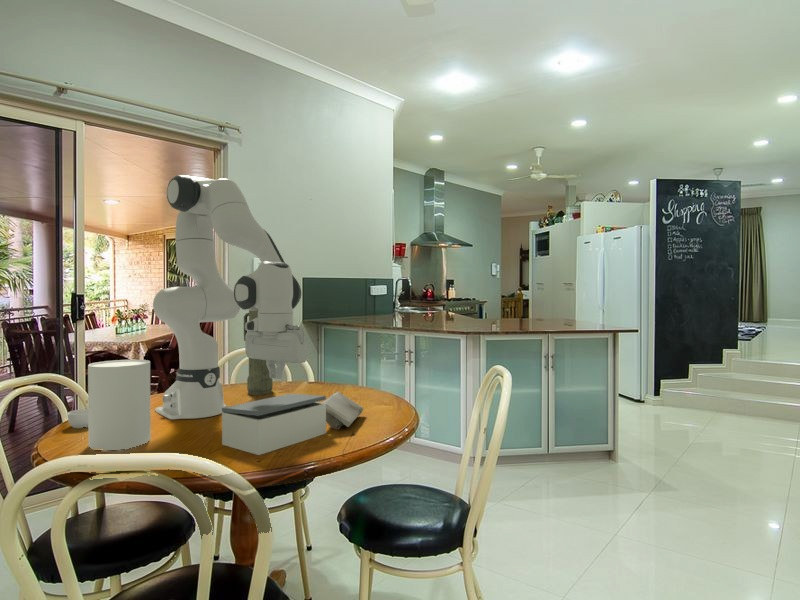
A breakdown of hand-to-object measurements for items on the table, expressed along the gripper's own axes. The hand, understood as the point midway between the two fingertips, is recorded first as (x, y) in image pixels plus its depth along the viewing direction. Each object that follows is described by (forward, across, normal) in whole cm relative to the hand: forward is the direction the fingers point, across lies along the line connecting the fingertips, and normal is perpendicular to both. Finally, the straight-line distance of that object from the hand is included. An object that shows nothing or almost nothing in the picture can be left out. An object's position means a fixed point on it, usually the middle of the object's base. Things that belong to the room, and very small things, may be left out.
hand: (275, 378), depth 128 cm
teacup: (+16, +52, +24) cm, 60 cm away
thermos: (+16, +48, -33) cm, 60 cm away
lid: (+8, +7, 0) cm, 10 cm away
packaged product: (+15, -7, -22) cm, 28 cm away
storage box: (+16, 0, 0) cm, 16 cm away
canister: (+16, +29, +25) cm, 41 cm away
